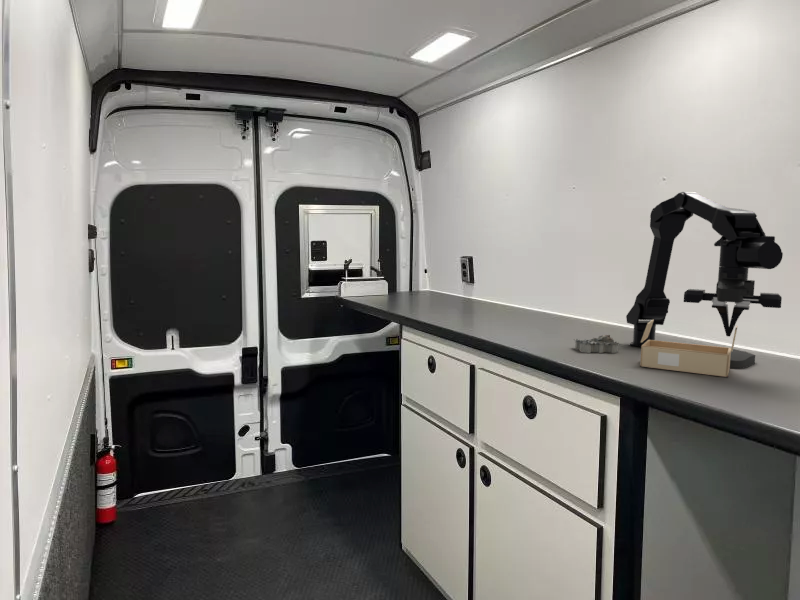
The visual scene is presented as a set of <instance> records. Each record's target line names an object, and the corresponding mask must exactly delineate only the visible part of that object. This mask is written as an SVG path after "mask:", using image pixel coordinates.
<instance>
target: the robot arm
mask: <svg viewBox="0 0 800 600" xmlns="http://www.w3.org/2000/svg"><path fill="white" fill-rule="evenodd" d="M694 215H695V216H697V217H699V218H701V219H703V220H705V221H707V222H709V223H710V224H711V228H712V229H713V230H714V231H715V232H716V233H718V235H719V236H721V237H720V238H719V239H718V240H717V241H715V242H714V243H713V246H714V247H719V248H720V250H719V263H718V274H717V275H718V276H717V282H716V287H715V292H714V293H713V292H706V289H698V288H695V289H694V288H693V289H692V288H688V289H686V291H684V293H683V303H691V304H692V303H693V304H699V303H700V302H702V301H706V302H707V301H708V302H709V301H710V302H711V303H712V304H711V308H712V309H713V308H714V309H716V310H717V311H718V314H719V316H720V319H721V321H722V324H723V328H724V332H725V335H726V337H731V335H732V334H733V333H732V332H733V331H734V329H735V327H736V324H737V322H738V320H739V318H740V316H741V314H742V313H743V312H744V311H749V310H750V306H751V304H758V305H760V306H762V307H763V308H775V309H780V308H782V299H783V298H782V295H781V294H780V293H776V292H775V293H773V292H760V293H759V294H760V295H754V293H755V285H756V284H755V280H754V279H753V280H752V279H751V280H750V279H748V278H749V269H758V270H759V269H760V270H761V269H764V270H771V269H775V268H777V267H778V266H779V265H780V264H781V262H782V259H783V256H784V253H783V251H782V248H781V247H780V246H781V245H779V244H778V243H777V242H775V241H776V240H775V239H776V237H775V236H774V235H773V236H772V235H770V236H769V235H766V233H765V231H764V230H763V228H762V226H761V224H760V222H759V220H758V218H757V216H758V215H757V213H755V212H754V211H753V210H747V209H742V208H741V209H740V208H732V207H728V206H725V205H723V204H721V203H718V202H716V201H715V200H712V199H709V198H708V197H705V196H703V195H701V193H700V192H697V191H681V192H678V193H677V194H676V195H674V196H673V197H671V198H668V199H666V200H663V201H661V202H660V203H659V204H657V205H656V206H655V207H653V208H652V209H651V212H650V216H649V227H650V230H651V232H652V234H653V242H652V248H651V252H650V257H649V262H648V267H647V274H646V278H645V283H644V287H643V288H642V289H641V291H640V292H639V293H638V294H637V295H636V297H635V300H634V303H633V306H632V307H631V308H630V310H629V311H628V313H627V314H626V316H625V319H626V323H627V324H629V325H630V324H631V325H633V335H632V341H631V342H630V343H629V346H631V347H640V348H641V346H642V345H643V344H644V343H645V342H646V341H647V340H656V329H657V327H656V326H664V323H665V321H666V316H667V315H668V313H669V306H670V301H671V300H670V298H669V297H668V298H667V295H666V293H665V286H666V281H667V275H668V271H669V268H670V267H669V266H670V261H671V258H672V257H671V256H672V253H673V246H674V242H675V239H677V237H678V236H679V235H680V234H681V233H682V231H683V230H684V227H685V225H686V221H688V220H689V219H691V218H692V217H693V216H694ZM727 303H734V306H733V308H732V313H731V317H730V318H729V307H728V306H729V305H728V304H727ZM653 319H654V322H653V324H652V327H651V330H650V333H649V335H648V338H647V339H646V340H644V341H643V342H641V340H642V337H643V334H644V331H645V329H646V326H647V323H649V322H650V321H651V320H653Z"/></svg>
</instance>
